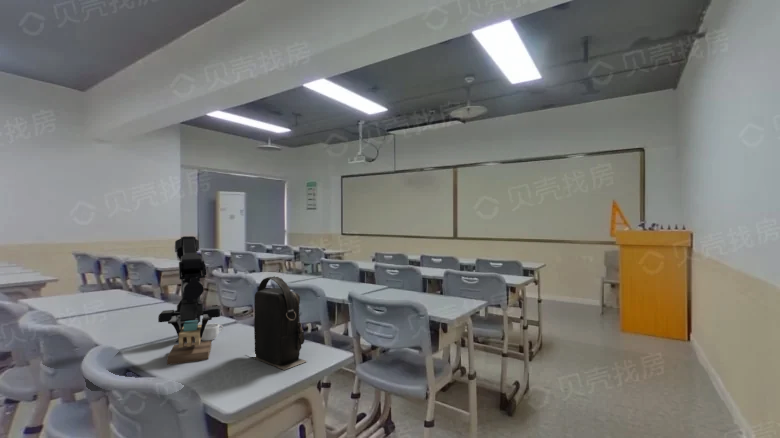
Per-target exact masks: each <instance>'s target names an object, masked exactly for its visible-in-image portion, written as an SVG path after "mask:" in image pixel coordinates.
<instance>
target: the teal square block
mask: <svg viewBox="0 0 780 438" xmlns="http://www.w3.org/2000/svg"><path fill="white" fill-rule="evenodd" d="M198 325H199V323H198V320H194V321H185V323H184V331H193V330H197V328H198Z"/></svg>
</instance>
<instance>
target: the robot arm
mask: <svg viewBox="0 0 780 438" xmlns="http://www.w3.org/2000/svg"><path fill="white" fill-rule="evenodd" d="M199 251H200V240H199V239H197V238H196V236H193V235H191V236H189V235H188V236H187V235H186V236H180V238H178V239H176V240H175V242H174V253H176V258H177V259H178V261H179V262H178V279H179V280H180V286H181V287H180V292H181V293H180V295H181V296H180V299H179V302H178V303H177V305H176V310H175V309H166V310H162V311H161V312H160V313H159V314H158V318H157V319H158V323H167V324H169V325H172V326H173V327H174V330H175V333H176V334H177V338H176V339H175V342H176V343H179V333H180V331H181V330H182V328H183V326H184V323H185V321H194V320H198V324H199V323H200V322H201V325H202V326H201V332H200V338H202V335H203V332H204V329H205V326H206V324H208V322H209V321H211V320H212V319H213V318H214V319H215V318H220V317H221V314H222V307H221V306H208V309H204V303H203V302H202V303H201V296H202V294H203V292H204V286H203V284H202V283H201V279H205V278H206V275H207V265H206V263H205V261H204V260H202V259H203V258H202V256H201V255H200V254H198V252H199ZM201 316H202V319H201ZM212 321H213V320H212ZM193 341H195V338H194V340H193ZM186 342H187V340H186Z"/></svg>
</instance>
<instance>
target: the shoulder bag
mask: <svg viewBox="0 0 780 438" xmlns="http://www.w3.org/2000/svg"><path fill="white" fill-rule="evenodd" d="M270 280H271V281H273V282H275V284H277V285H278V286H279V287H274V288H273V287H271V288H267V286H268V283H269V282H270ZM300 301H301V296H300V294H299V293H297V292H294V291H291V289H290V286H288V283H287V282H286V281H285V280H284V279H283V278H282V277H279V276H268V277H265V278H263V279H262V280H261V281H260V283H259V286H258V289H257V291H256V292H255V294H254V318H253V319H254V321H253V322H254V323H253V324H254V325H253V326H254V327H253V328H254V329H253V330H254V352H255V354H256V357H254V358H255V359H254V360H256V361H258V362H262V363H264V364H268V365H269V366H273V367H276V368H279V369H280V370H284V371H285V370H288V369H290V368H293V367H296V366H298V365H301V364H303V363H307V362H308V361H307V360H305V359H302V358H300V351H301V349H302V345H303V344H304V343H305V340H306V339H305V332H304V329H303V327H302V323H301V321H300V320H301V319H300V304H301V303H300Z"/></svg>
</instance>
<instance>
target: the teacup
mask: <svg viewBox="0 0 780 438" xmlns="http://www.w3.org/2000/svg"><path fill="white" fill-rule="evenodd" d="M220 327H221V328H220ZM223 329H224V326H223V324H219V323H215V322H212V323H207V324H206V326H205V329H204V332H203V335H202V338H201V342H204V341H213V340H215V339H217V337H218V336H219V333H221V332H222V331H223Z"/></svg>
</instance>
